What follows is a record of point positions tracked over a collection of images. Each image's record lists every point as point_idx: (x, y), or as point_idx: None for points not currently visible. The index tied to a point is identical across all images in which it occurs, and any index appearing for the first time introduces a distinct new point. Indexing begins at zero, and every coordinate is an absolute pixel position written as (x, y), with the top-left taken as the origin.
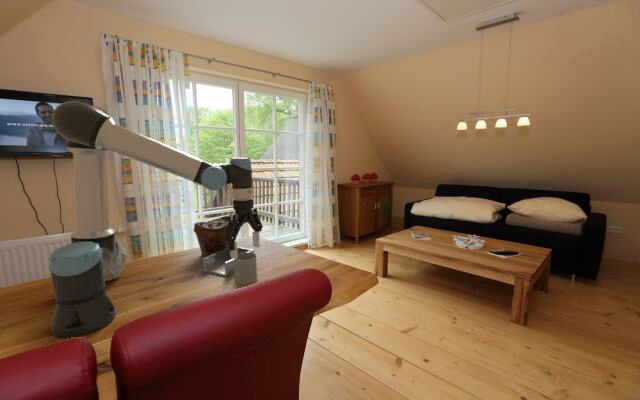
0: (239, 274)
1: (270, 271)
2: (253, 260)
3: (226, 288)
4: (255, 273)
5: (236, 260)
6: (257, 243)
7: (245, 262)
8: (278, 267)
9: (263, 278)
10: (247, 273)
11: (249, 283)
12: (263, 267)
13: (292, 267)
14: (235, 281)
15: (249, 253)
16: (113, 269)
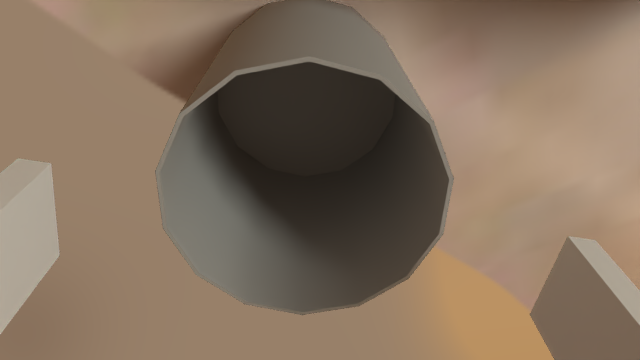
0: (199, 115)
1: (508, 197)
2: (280, 289)
3: (108, 11)
4: (308, 206)
5: (168, 145)
6: (562, 350)
7: (193, 244)
8: (593, 221)
9: None
10: (224, 188)
11: (249, 152)
12: (592, 110)
13: None
14: (247, 19)
15: (443, 189)
16: None
